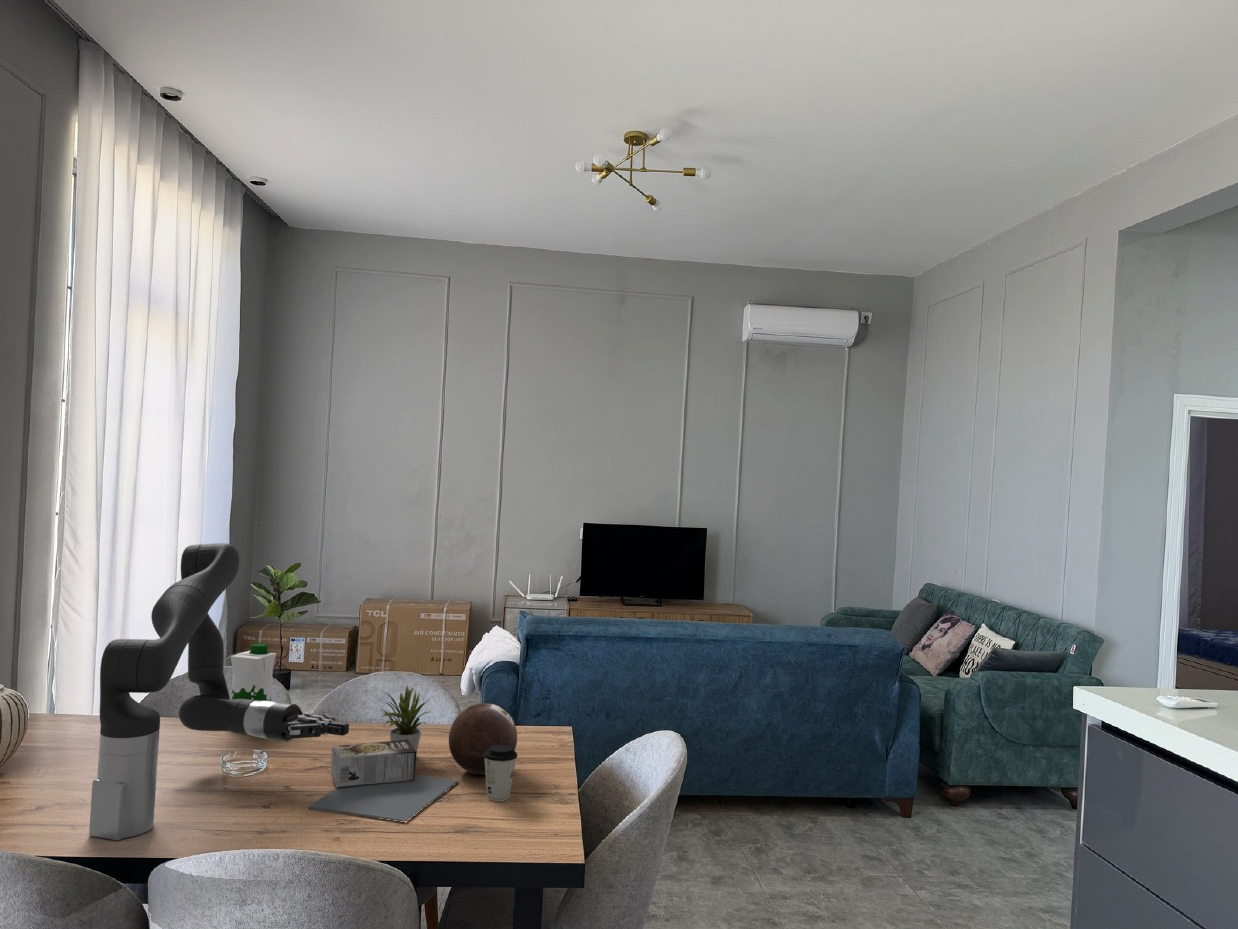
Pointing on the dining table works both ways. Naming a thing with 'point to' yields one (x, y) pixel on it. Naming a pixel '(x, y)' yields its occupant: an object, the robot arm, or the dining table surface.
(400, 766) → the coffee box
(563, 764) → the dining table surface
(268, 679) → the milk carton
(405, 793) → the rubber mat
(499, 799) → the coffee cup
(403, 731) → the house plant
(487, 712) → the wooden sphere
